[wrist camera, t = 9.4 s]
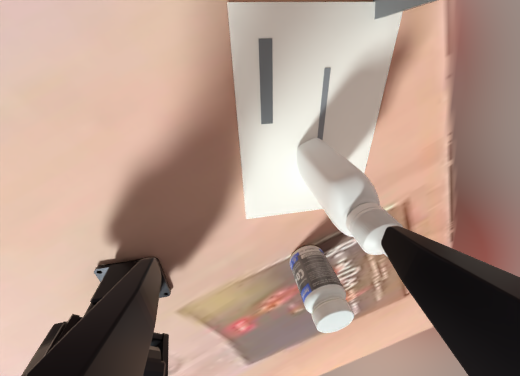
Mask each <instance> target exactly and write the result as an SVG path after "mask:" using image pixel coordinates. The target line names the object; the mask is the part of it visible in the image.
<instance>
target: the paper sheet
mask: <svg viewBox="0 0 520 376" xmlns="http://www.w3.org/2000/svg"><path fill="white" fill-rule="evenodd" d="M227 9H228V20H229V31H230V43H231V54H232V65H233V77H234V88H235V99H236V111H237V122H238V133H239V145H240V156H241V167H242V179H243V190H244V201H245V213H246V219H251V218H258V217H266V216H273V215H281V214H288V213H295V212H303V211H310V210H318V209H323V208H322V207H321V205H320V204H319V202H318V201H317V199H316V198H315V196H314V195H313V193H312V192H311V190H310V189H309V188H308V186H307V185H306V183H305V182H304V180H303V179H302V177H301V175H300V172H299V170H298V166H297V149H298V147H299V146H300V145H301V144H303V143H305V142H307V141H309V140H311V139H313V138H319V139H321V140H322V141H324V142H325V143H326V144H328V145H329V146H330V147H332V148H333V149H334V150H336V151H337V152H338V153H339V154H341V155H342V156H343V157H345V158H346V159H347V160H349V161H350V162H351V163H352V164H353V165H355V166H356V167H357V168H358V169H360V170H361V171H362V172H363V173H364V172H365V168H366V164H367V160H368V156H369V151H370V147H371V143H372V139H373V135H374V130H375V126H376V122H377V118H378V114H379V109H380V105H381V101H382V97H383V93H384V88H385V84H386V80H387V76H388V72H389V67H390V63H391V59H392V55H393V51H394V46H395V42H396V38H397V34H398V30H399V25H400V21H401V17H402V13H403V11H402V12H399V13H396V14H393V15H390V16H386V17H383V18H379V19H375V20H374V18H375V2H227Z"/></svg>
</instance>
